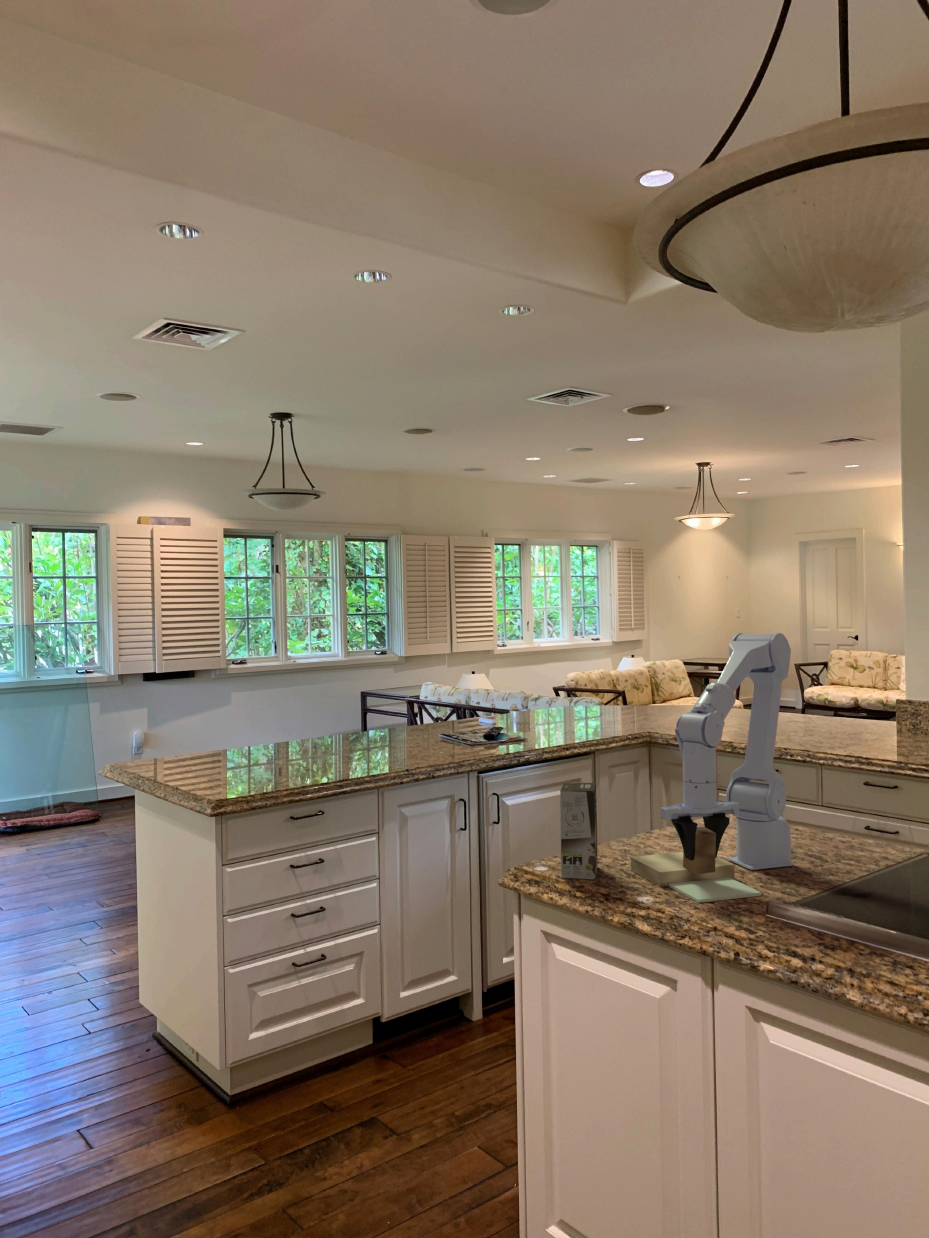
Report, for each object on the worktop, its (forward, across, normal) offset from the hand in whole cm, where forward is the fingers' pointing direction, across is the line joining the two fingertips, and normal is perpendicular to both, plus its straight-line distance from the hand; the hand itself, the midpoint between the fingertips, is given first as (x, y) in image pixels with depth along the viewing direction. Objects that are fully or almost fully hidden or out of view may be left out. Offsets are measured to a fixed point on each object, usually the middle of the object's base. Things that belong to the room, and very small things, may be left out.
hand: (701, 857), depth 156 cm
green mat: (+5, 0, +4) cm, 6 cm away
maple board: (+5, 0, -7) cm, 8 cm away
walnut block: (+2, 0, -1) cm, 2 cm away
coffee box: (+5, +17, -14) cm, 23 cm away
